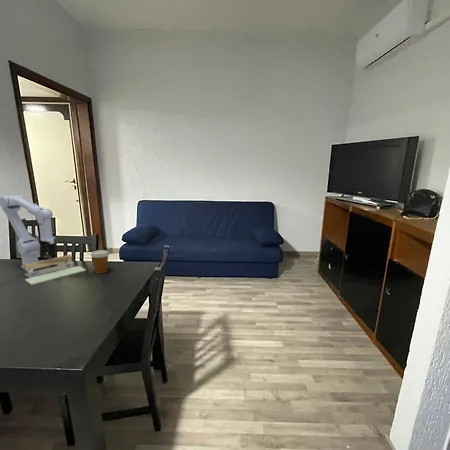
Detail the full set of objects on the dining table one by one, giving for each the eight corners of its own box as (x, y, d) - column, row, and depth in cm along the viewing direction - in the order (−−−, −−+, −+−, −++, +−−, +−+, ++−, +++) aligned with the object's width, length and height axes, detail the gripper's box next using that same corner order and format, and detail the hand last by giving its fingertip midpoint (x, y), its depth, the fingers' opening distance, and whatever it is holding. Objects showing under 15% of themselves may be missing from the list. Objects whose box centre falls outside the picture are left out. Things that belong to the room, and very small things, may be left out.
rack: (25, 274, 158) (23, 265, 157) (68, 264, 176) (67, 255, 175) (29, 278, 154) (28, 268, 153) (73, 267, 172) (72, 258, 171)
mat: (25, 280, 151) (25, 279, 151) (78, 266, 173) (78, 266, 173) (31, 285, 146) (31, 284, 146) (85, 270, 167) (85, 269, 167)
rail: (24, 269, 156) (23, 264, 155) (70, 259, 174) (69, 254, 174) (26, 271, 154) (25, 265, 153) (72, 260, 173) (71, 255, 172)
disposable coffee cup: (105, 275, 162) (104, 254, 159) (89, 274, 162) (87, 254, 159) (112, 269, 171) (111, 250, 168) (96, 268, 171) (95, 249, 169)
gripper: (58, 231, 159) (61, 254, 161) (48, 227, 168) (51, 250, 170) (44, 233, 153) (47, 257, 156) (35, 229, 162) (38, 252, 165)
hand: (48, 253), depth 163 cm, fingers open, 7 cm apart
